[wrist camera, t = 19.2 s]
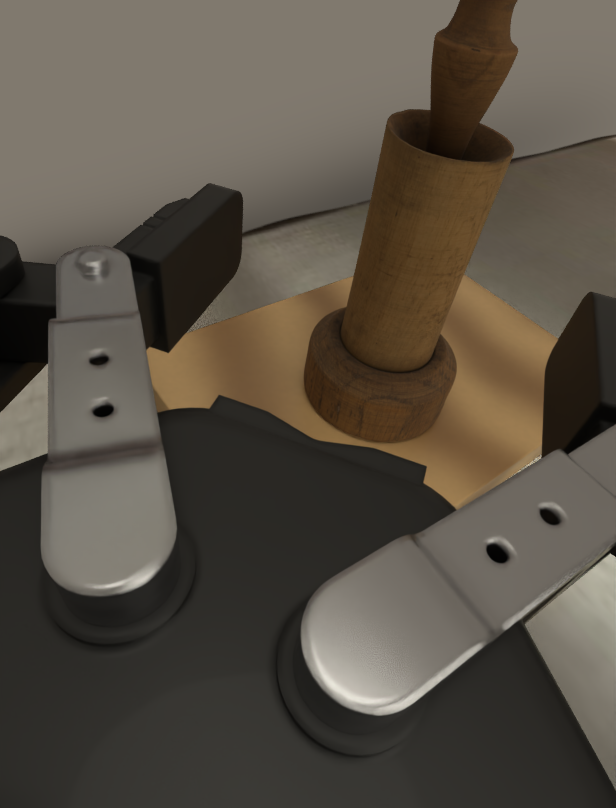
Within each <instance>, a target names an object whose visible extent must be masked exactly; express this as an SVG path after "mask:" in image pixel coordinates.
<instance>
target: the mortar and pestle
mask: <svg viewBox="0 0 616 808" xmlns="http://www.w3.org/2000/svg"><path fill="white" fill-rule="evenodd" d="M516 2H517V0H460V2H459V4H458V7H457V10H456V12H455V14H454V16H453V18H452V20H451V21H450V23H449V25H448V26H447V27H446V28H445V29H443V30H441V31H439V32H438V33H437V34H436V35H435V40H434V48H433V56H432V69H431V70H432V71H431V110H420V109H417V110H416V109H415V110H414V109H409V110H405V111H401V112H397V113H394V114H392V115H391V116H390V117H389V118H388V121H387V125H386V129H385V134H384V139H383V144H382V148H381V153H380V158H379V163H378V168H377V173H376V178H375V183H374V187H373V192H372V197H371V201H370V206H369V210H368V215H367V219H366V224H365V229H364V233H363V237H362V242H361V246H360V251H359V255H358V260H357V264H356V269H355V273H354V277H353V281H352V285H351V290H350V294H349V298H348V302H347V307H344V308H340V309H338V310H335V311H333V312H331V313H329V314H328V315H326V316H325V317H323V318H322V319H321V320H320V321H319V322H318V323H317V325H316V326H315V328H314V329H313V331H312V334H311V337H310V341H309V346H308V352H307V357H306V362H305V368H304V386H305V390H306V393H307V396H308V398H309V400H310V402H311V404H312V405H313V407H314V408H315V409H316V410H317V412H318V413H319V414H320V415H321V416H322V417H323V418H324V419H326V420H327V421H328V422H329V423H331V424H332V425H333V426H335V427H336V428H338V429H340V430H342V431H344V432H346V433H348V434H350V435H353V436H356V437H359V438H363V439H366V440H371V441H377V442H398V441H404V440H408V439H412V438H415V437H417V436H419V435H421V434H422V433H424V432H425V431H427V430H428V429H429V428H430V427H431V426H432V425H433V424H434V422H435V421H436V420H437V418H438V416H439V414H440V412H441V410H442V408H443V406H444V403H445V400H446V398H447V396H448V394H449V392H450V390H451V388H452V386H453V383H454V381H455V378H456V373H457V363H456V358H455V355H454V352H453V350H452V348H451V347H450V345H449V343H448V342H447V341H446V339H445V338H444V337H443V336H442V335H441V334H440V333H441V331H442V328H443V325H444V323H445V320H446V318H447V315H448V313H449V310H450V308H451V305H452V303H453V300H454V298H455V295H456V293H457V290H458V288H459V285H460V283H461V280H462V278H463V275H464V273H465V270H466V268H467V265H468V263H469V260H470V258H471V255H472V253H473V251H474V248H475V246H476V243H477V241H478V238H479V236H480V233H481V231H482V228H483V226H484V224H485V221H486V219H487V216H488V214H489V211H490V209H491V207H492V204H493V202H494V199H495V197H496V195H497V192H498V190H499V187H500V185H501V183H502V180H503V178H504V175H505V173H506V170H507V168H508V166H509V163H510V161H511V158H512V156H513V153H514V147H513V145H512V143H511V142H510V141H509V140H508V139H507V138H506V137H504V136H503V135H502V134H500V133H498V132H497V131H495V130H493V129H491V128H489V127H487V126H485V125H483V124H480V123H479V122H480V121H481V119H482V117H483V116H484V114H485V112H486V111H487V109H488V108H489V106H490V104H491V102H492V101H493V99H494V98H495V96H496V94H497V92H498V90H499V89H500V87H501V86H502V84H503V82H504V80H505V78H506V77H507V75H508V73H509V71H510V69H511V67H512V64H513V62H514V60H515V58H516V56H517V53H518V48H517V47H516V46H515V45H514V44H513V43H512V41H511V38H510V24H511V17H512V13H513V9H514V6H515V4H516Z"/></svg>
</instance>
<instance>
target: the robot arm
mask: <svg viewBox="0 0 616 808" xmlns="http://www.w3.org/2000/svg"><path fill="white" fill-rule="evenodd" d="M242 219H243V198H242V194H241V193H240V192H239V191H236V190H232V189H229V188H225V187H222V186H218V185H215V184H211V183H209V184H207V185H206V186H205V187H203V188H202V189H201V190H200V191H199V192H197V193H196V194H195V195H194V196H193V197H191V198H190V199H186V198H184V199H181V200H178V201H175V202H172V203H169V204H167V205H165V206H164V207H163V208H161V209H160V210H159V211H157V212H156V213H155V214H154V216H153V217H150V218H149V219H148V220H146V221H145V222H144V223H143V225H140V226H139V227H138V228H136V229H135V230H134V231H132V232H131V233H130V234H129V235H127V236H126V237H125V238H124V239H122V240H121V241H120V242H119V243H117V244H116V245H115V246H114V247H112V248H111V247H106V246H85V247H80V248H76V249H73V250H71V251H69V252H67V253H65V254H64V255H63V256H61V258H59V259H58V261H57V263H56V265H54V264H43V263H33V262H22V260H21V257H20V254H19V251H18V248H17V245H16V244H15V242H13V241H12V240H11V239H9V238H7V237H4V236H0V412H1V411H2V410H3V409H4V408H5V407H6V406H7V405H8V404H9V403H10V402H11V401H12V400H13V399H14V398H15V397H16V396H17V395H18V394H19V393H20V392H21V390H22V389H23V388H24V387H25V386H26V385H27V384H28V383H29V382H30V381H31V380H32V379H33V378H34V377H35V376H36V375H37V374H38V373H39V372H40V371H41V370H42V369H43V368H44V367H45V366H46V364H48V453H47V454H44V455H42V456H39V457H36V458H34V459H31V460H29V461H26V462H23V463H21V464H18V465H15V466H13V467H10V468H7V469H5V470H2V471H0V808H616V790H615V788H614V786H613V784H612V782H611V781H610V779H609V777H608V775H607V773H606V772H605V770H604V768H603V766H602V764H601V762H600V761H599V759H598V757H597V755H596V753H595V752H594V750H593V748H592V746H591V744H590V743H589V741H588V739H587V737H586V735H585V733H584V732H583V730H582V728H581V726H580V724H579V723H578V721H577V719H576V717H575V715H574V714H573V712H572V710H571V708H570V706H569V705H568V703H567V701H566V699H565V697H564V695H563V694H562V692H561V690H560V688H559V686H558V685H557V683H556V681H555V679H554V677H553V676H552V674H551V672H550V670H549V668H548V666H547V665H546V663H545V661H544V659H543V657H542V656H541V654H540V652H539V650H538V648H537V646H536V645H535V643H534V641H533V639H532V637H531V636H530V634H529V632H528V630H527V628H526V626H525V624H526V623H527V622H528V621H529V620H531V619H532V618H533V617H534V616H535V615H536V614H538V613H539V612H540V611H541V610H542V609H543V608H545V607H546V606H547V605H548V604H549V603H551V602H552V601H553V600H554V599H555V598H557V597H558V596H559V595H560V594H562V593H563V592H564V591H565V590H566V589H568V588H569V587H570V586H571V585H573V584H574V583H575V582H576V581H577V580H579V579H580V578H581V577H582V576H584V575H585V574H586V573H587V572H588V571H590V570H591V569H592V568H593V567H595V566H596V565H597V564H598V563H599V562H601V561H602V560H603V559H604V558H606V557H607V556H608V555H609V554H610V553H611V554H612V555H614V556H615V557H616V298H612V297H609V296H605V295H601V294H598V293H594V292H589V293H588V294H587V295H586V296H585V297H584V298H583V300H582V301H581V303H580V305H579V306H578V308H577V309H576V311H575V313H574V314H573V316H572V318H571V319H570V321H569V323H568V324H567V326H566V328H565V329H564V331H563V333H562V334H561V336H560V337H559V339H558V341H557V342H556V344H555V346H554V347H553V349H552V351H551V354H550V356H549V358H548V361H547V364H546V368H545V376H544V403H543V430H542V457H541V459H540V460H538V461H537V462H535V463H533V464H532V465H530V466H528V467H527V468H525V469H524V470H522V471H520V472H519V473H517V474H515V475H514V476H512V477H510V478H509V479H507V480H505V481H504V482H502V483H501V484H499V485H497V486H496V487H494V488H492V489H491V490H489V491H487V492H486V493H484V494H483V495H481V496H479V497H478V498H476V499H474V500H473V501H471V502H469V503H468V504H466V505H465V506H463V507H461V508H460V509H458V510H456V508H455V507H454V506H453V505H452V504H451V503H450V502H448V501H447V500H446V499H445V498H444V497H443V496H442V495H440V494H439V493H438V492H436V491H435V490H434V489H432V488H431V487H429V486H428V485H426V484H424V483H423V482H424V478H425V474H426V469H427V466H425V465H422V464H419V463H416V462H413V461H410V460H408V459H405V458H402V457H399V456H396V455H393V454H390V453H387V452H384V451H381V450H379V449H376V448H371V447H364V446H356V445H349V444H341V443H334V442H326V441H320V440H316V439H313V438H311V437H309V436H308V435H306V434H304V433H303V432H301V431H299V430H298V429H296V428H295V427H293V426H291V425H290V424H288V423H286V422H285V421H283V420H281V419H280V418H278V417H276V416H275V415H273V414H271V413H270V412H268V411H265V410H263V409H260V408H257V407H254V406H251V405H248V404H245V403H242V402H239V401H236V400H234V399H231V398H228V397H225V396H222V395H218V397H217V398H216V400H215V401H214V403H213V404H212V405H211V407H210V408H177V409H171V410H165V411H161V412H158V413H157V410H156V404H155V398H154V393H153V387H152V381H151V375H150V369H149V364H148V358H147V352H146V350H147V349H148V348H149V347H152V348H155V349H158V350H160V351H163V352H166V353H169V352H170V351H171V350H172V349H173V348H174V346H175V345H176V344H177V343H178V342H179V340H180V339H181V338H182V337H183V336H184V335H185V333H186V332H187V331H188V330H189V329H190V327H191V326H192V325H193V324H194V323H195V322H196V320H197V319H198V318H199V317H200V316H201V314H202V313H203V312H204V311H205V310H206V309H207V307H208V306H209V305H210V304H211V303H212V301H213V300H214V299H215V298H216V297H217V296H218V294H219V293H220V292H221V291H222V290H223V289H224V287H225V286H226V285H227V284H228V283H229V281H230V280H231V279H232V278H233V277H234V275H235V273H236V271H237V269H238V267H239V263H240V259H241V252H242Z"/></svg>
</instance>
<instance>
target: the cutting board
mask: <svg viewBox="0 0 616 808" xmlns="http://www.w3.org/2000/svg"><path fill="white" fill-rule="evenodd" d="M353 277H354V276H352V277H349V278H346V279H343V280H340V281H337V282H334V283H331V284H328V285H326V286H323V287H320V288H317V289H314V290H311V291H308V292H305V293H302V294H299V295H296V296H294V297H291V298H288V299H285V300H282V301H279V302H276V303H273V304H270V305H267V306H264V307H261V308H259V309H256V310H253V311H250V312H247V313H244V314H241V315H238V316H235V317H232V318H229V319H226V320H224V321H221V322H218V323H215V324H212V325H209V326H206V327H203V328H200V329H197V330H194V331H191V332H189V333H186V334H185V335H184V336H183V337H182V338H181V339H180V340H179V342H178V343H177V344H176V345H175V346H174V348H173V349H172V350H171V351H170V352H169V353H166V352H163V351H160V350H158V349H155V348H152V347H149V348H148V349H147V350H146V352H147V358H148V364H149V369H150V375H151V381H152V387H153V393H154V398H155V404H156V410H157V411H158V412H161V411H165V410H171V409H177V408H210V407H211V405H212V404H213V403H214V401H215V400H216V398H217V397H218V395H222V396H225V397H228V398H231V399H234V400H236V401H239V402H242V403H245V404H248V405H251V406H254V407H257V408H260V409H263V410H265V411H268V412H270V413H271V414H273V415H275V416H276V417H278V418H280V419H281V420H283V421H285V422H286V423H288V424H290V425H291V426H293V427H295V428H296V429H298V430H299V431H301V432H303V433H304V434H306V435H308V436H309V437H311V438H313V439H316V440H320V441H326V442H334V443H341V444H349V445H356V446H364V447H371V448H376V449H379V450H381V451H384V452H387V453H390V454H393V455H396V456H399V457H402V458H405V459H408V460H410V461H413V462H416V463H419V464H422V465H425V466H427V469H426V474H425V478H424V482H423V483H424V484H426V485H428V486H429V487H431V488H432V489H434V490H435V491H436V492H438V493H439V494H440V495H442V496H443V497H444V498H445V499H446V500H447V501H448V502H450V503H451V504H452V505H453V506H454V507H455V508H456V510H458V509H460V508H461V507H463V506H465V505H466V504H468V503H469V502H471V501H473V500H474V499H476V498H478V497H479V496H481V495H483V494H484V493H486V492H487V491H489V490H491V489H492V488H494V487H496V486H497V485H499V484H501V483H502V482H503V481H505V480H506V479H508V478H509V477H510V476H512V475H513V474H515V473H516V472H517V471H519V470H520V469H521V468H523V467H524V466H526V465H527V464H528V463H530V462H531V461H532V460H534V459H535V458H537V457H538V456H539V455H541V454H542V430H543V403H544V376H545V368H546V364H547V361H548V358H549V356H550V354H551V351H552V349H553V347H554V346H555V344H556V342H557V341H558V338H556V337H555V336H553V335H552V334H550V333H549V332H547V331H546V330H544V329H543V328H542V327H540V326H539V325H537V324H536V323H534V322H533V321H531V320H530V319H528V318H527V317H526V316H524V315H523V314H521V313H520V312H518V311H517V310H515V309H514V308H512V307H511V306H510V305H508V304H507V303H505V302H504V301H502V300H501V299H499V298H498V297H496V296H495V295H493V294H492V293H491V292H489V291H488V290H486V289H485V288H483V287H482V286H480V285H479V284H477V283H476V282H475V281H473V280H472V279H470V278H469V277H467V276H466V275H463V278H462V280H461V283H460V285H459V288H458V290H457V293H456V295H455V298H454V300H453V303H452V305H451V308H450V310H449V313H448V315H447V318H446V320H445V323H444V325H443V328H442V331H441V333H440V334H441V335H442V336H443V337H444V338H445V339H446V341H447V342H448V343H449V345H450V347H451V348H452V350H453V352H454V355H455V358H456V363H457V373H456V378H455V381H454V383H453V386H452V388H451V390H450V392H449V394H448V396H447V398H446V400H445V403H444V406H443V408H442V410H441V412H440V414H439V416H438V418H437V420H436V421H435V422H434V424H433V425H432V426H431V427H430V428H429V429H428V430H427V431H425V432H424V433H422V434H421V435H419V436H417V437H415V438H412V439H408V440H404V441H398V442H377V441H371V440H366V439H363V438H359V437H356V436H353V435H350V434H348V433H346V432H344V431H342V430H340V429H338V428H336V427H335V426H333V425H332V424H331V423H329V422H328V421H327V420H326V419H324V418H323V417H322V416H321V415H320V414H319V413H318V412H317V410H316V409H315V408H314V407H313V405H312V404H311V402H310V400H309V398H308V396H307V393H306V390H305V386H304V368H305V362H306V357H307V352H308V346H309V341H310V337H311V334H312V331H313V329H314V328H315V326H316V325H317V323H318V322H319V321H320V320H321V319H322V318H323V317H325V316H326V315H328V314H329V313H331V312H333V311H335V310H338V309H340V308H344V307H347V302H348V298H349V294H350V290H351V285H352V281H353Z"/></svg>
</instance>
